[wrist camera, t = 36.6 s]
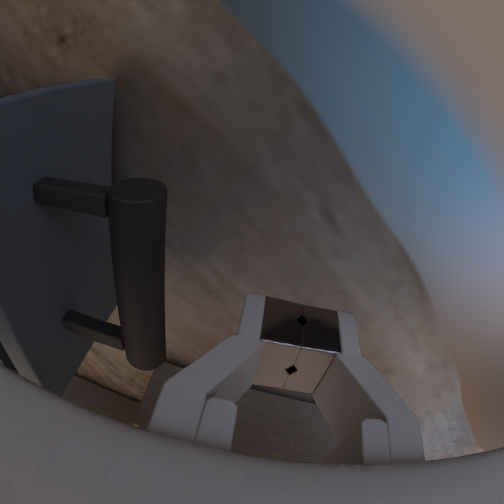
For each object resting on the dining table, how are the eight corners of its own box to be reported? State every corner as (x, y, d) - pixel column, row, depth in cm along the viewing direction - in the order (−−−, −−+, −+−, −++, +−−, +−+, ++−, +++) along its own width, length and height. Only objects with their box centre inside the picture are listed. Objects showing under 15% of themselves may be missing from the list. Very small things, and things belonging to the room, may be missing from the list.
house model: (44, 308, 17) (-17, 392, 11) (383, 414, 19) (392, 510, 12) (82, 428, 30) (61, 477, 23) (272, 486, 31) (266, 538, 25)
